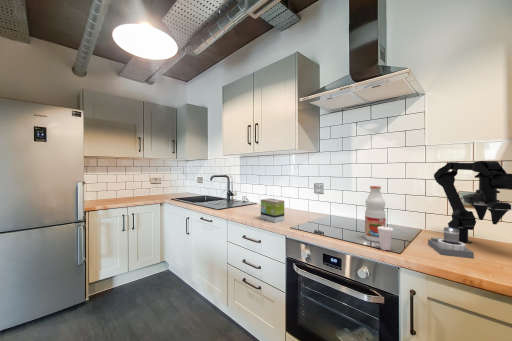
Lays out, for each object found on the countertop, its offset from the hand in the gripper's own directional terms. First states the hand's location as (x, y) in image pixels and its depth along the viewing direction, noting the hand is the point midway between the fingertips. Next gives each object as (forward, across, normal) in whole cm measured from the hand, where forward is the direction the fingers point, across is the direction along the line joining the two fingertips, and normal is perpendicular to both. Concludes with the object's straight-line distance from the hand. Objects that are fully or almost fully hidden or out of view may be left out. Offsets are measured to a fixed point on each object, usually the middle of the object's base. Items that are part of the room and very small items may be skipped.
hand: (487, 222), depth 100 cm
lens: (+10, +9, -17) cm, 22 cm away
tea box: (+13, -22, -108) cm, 111 cm away
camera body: (+13, +7, -17) cm, 22 cm away
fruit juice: (+13, +1, -46) cm, 48 cm away
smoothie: (+13, +15, -44) cm, 48 cm away
